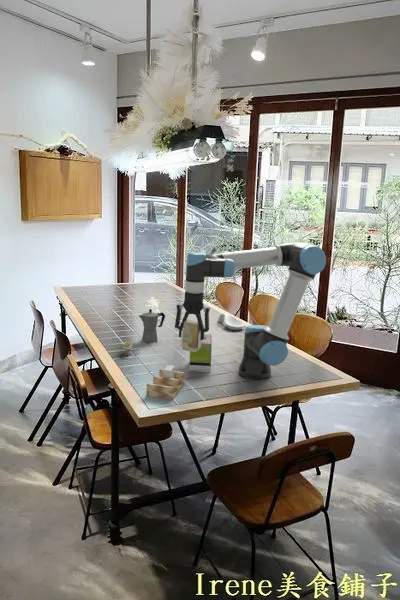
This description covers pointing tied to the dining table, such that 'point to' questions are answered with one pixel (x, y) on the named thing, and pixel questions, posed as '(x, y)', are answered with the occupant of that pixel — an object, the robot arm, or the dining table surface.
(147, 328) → the coffeepot
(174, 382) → the oak rack
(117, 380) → the dining table surface
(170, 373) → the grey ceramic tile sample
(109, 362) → the dining table surface
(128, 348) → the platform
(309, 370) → the dining table surface
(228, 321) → the spoon rest
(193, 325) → the skincare box
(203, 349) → the tea box
